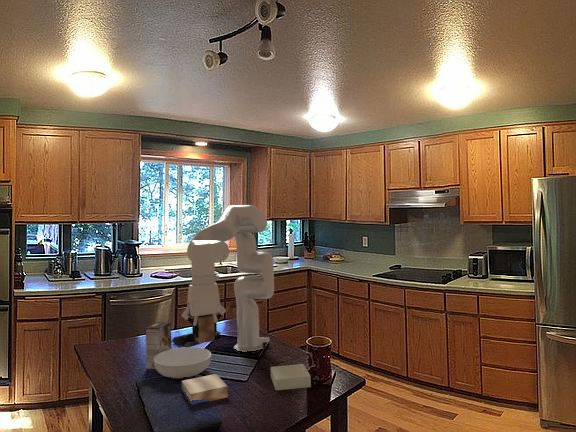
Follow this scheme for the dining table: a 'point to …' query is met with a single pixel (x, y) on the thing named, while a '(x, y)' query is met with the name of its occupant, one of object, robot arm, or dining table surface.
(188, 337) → the dark slate chunk
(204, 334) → the walnut block
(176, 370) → the serving bowl
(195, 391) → the maple riser block
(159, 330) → the coffee box
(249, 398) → the dining table surface
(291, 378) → the sage riser block
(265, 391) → the dining table surface
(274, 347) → the dining table surface
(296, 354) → the dining table surface
